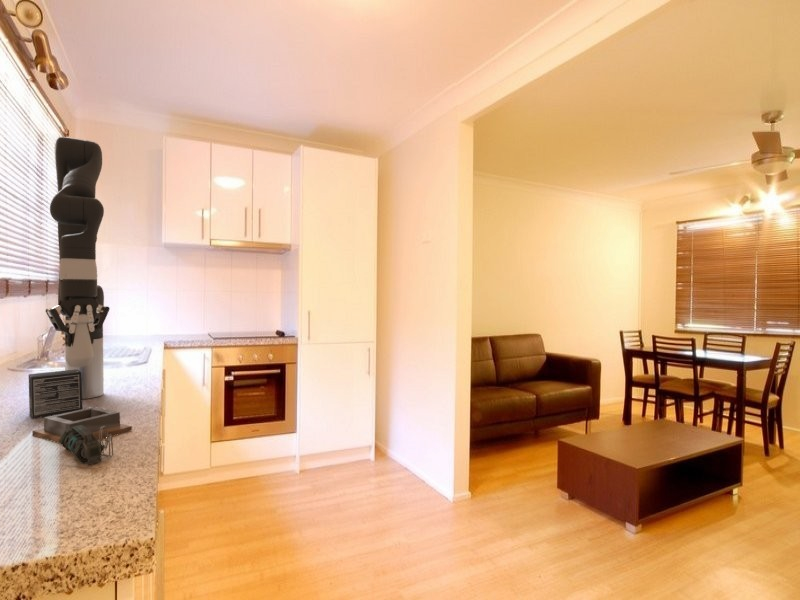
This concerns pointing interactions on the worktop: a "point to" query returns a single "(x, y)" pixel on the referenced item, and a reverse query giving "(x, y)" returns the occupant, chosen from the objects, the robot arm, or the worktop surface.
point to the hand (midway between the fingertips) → (79, 347)
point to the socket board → (82, 423)
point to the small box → (55, 393)
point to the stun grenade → (85, 444)
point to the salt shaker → (80, 345)
